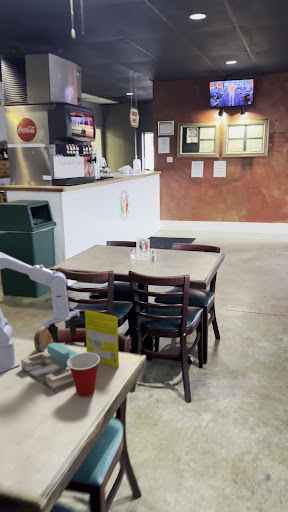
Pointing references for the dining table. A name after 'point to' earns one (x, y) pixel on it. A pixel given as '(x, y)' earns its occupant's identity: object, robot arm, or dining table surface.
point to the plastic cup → (84, 372)
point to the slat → (60, 353)
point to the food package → (102, 336)
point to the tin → (42, 339)
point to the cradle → (47, 371)
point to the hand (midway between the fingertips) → (64, 339)
